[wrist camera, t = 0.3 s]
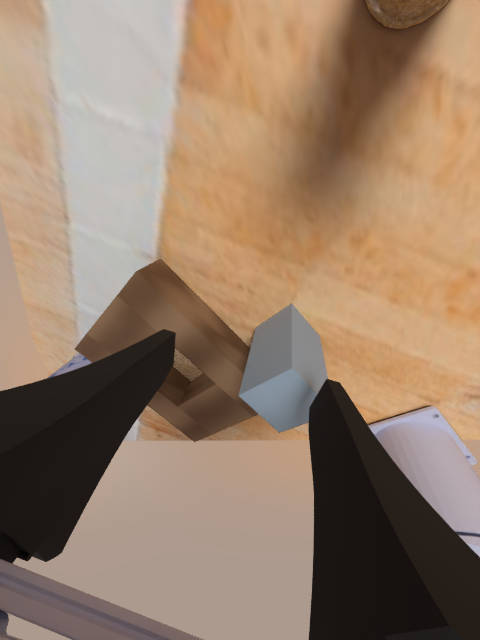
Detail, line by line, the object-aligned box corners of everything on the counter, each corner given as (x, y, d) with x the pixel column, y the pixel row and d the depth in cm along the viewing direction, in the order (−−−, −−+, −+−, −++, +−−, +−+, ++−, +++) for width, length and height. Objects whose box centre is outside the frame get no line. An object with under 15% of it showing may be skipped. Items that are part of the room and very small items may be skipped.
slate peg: (319, 335, 20) (334, 412, 13) (283, 356, 21) (279, 432, 15) (291, 303, 19) (292, 368, 12) (255, 327, 20) (238, 395, 14)
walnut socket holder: (279, 377, 23) (277, 405, 20) (204, 415, 28) (194, 441, 26) (160, 258, 19) (136, 271, 16) (100, 329, 24) (74, 349, 22)
